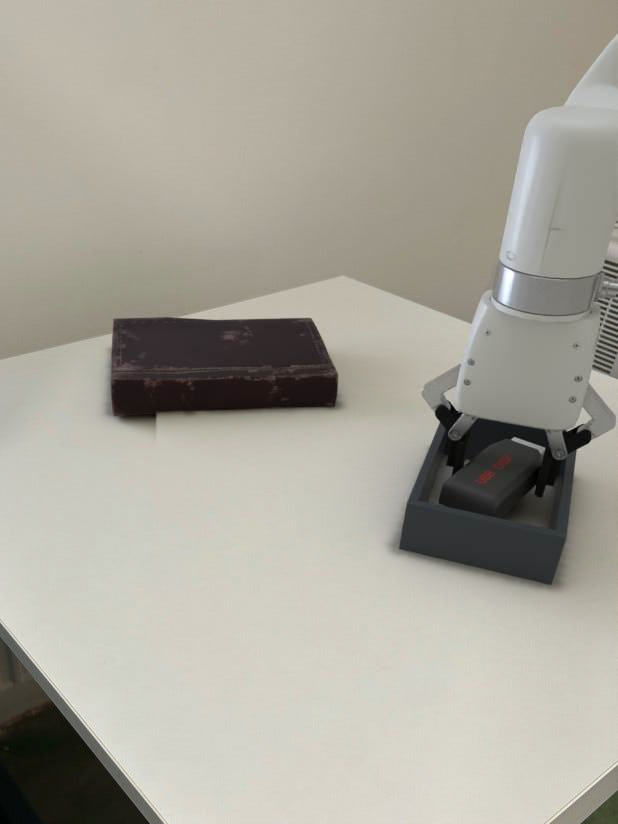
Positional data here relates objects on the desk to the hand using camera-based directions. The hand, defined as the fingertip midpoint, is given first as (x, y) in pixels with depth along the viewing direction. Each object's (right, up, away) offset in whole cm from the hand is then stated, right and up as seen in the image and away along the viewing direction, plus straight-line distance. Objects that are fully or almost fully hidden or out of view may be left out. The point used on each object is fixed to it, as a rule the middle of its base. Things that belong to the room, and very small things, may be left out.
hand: (497, 480), depth 75 cm
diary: (-25, +13, +25) cm, 38 cm away
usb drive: (0, -1, +1) cm, 1 cm away
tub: (0, -3, +2) cm, 4 cm away
